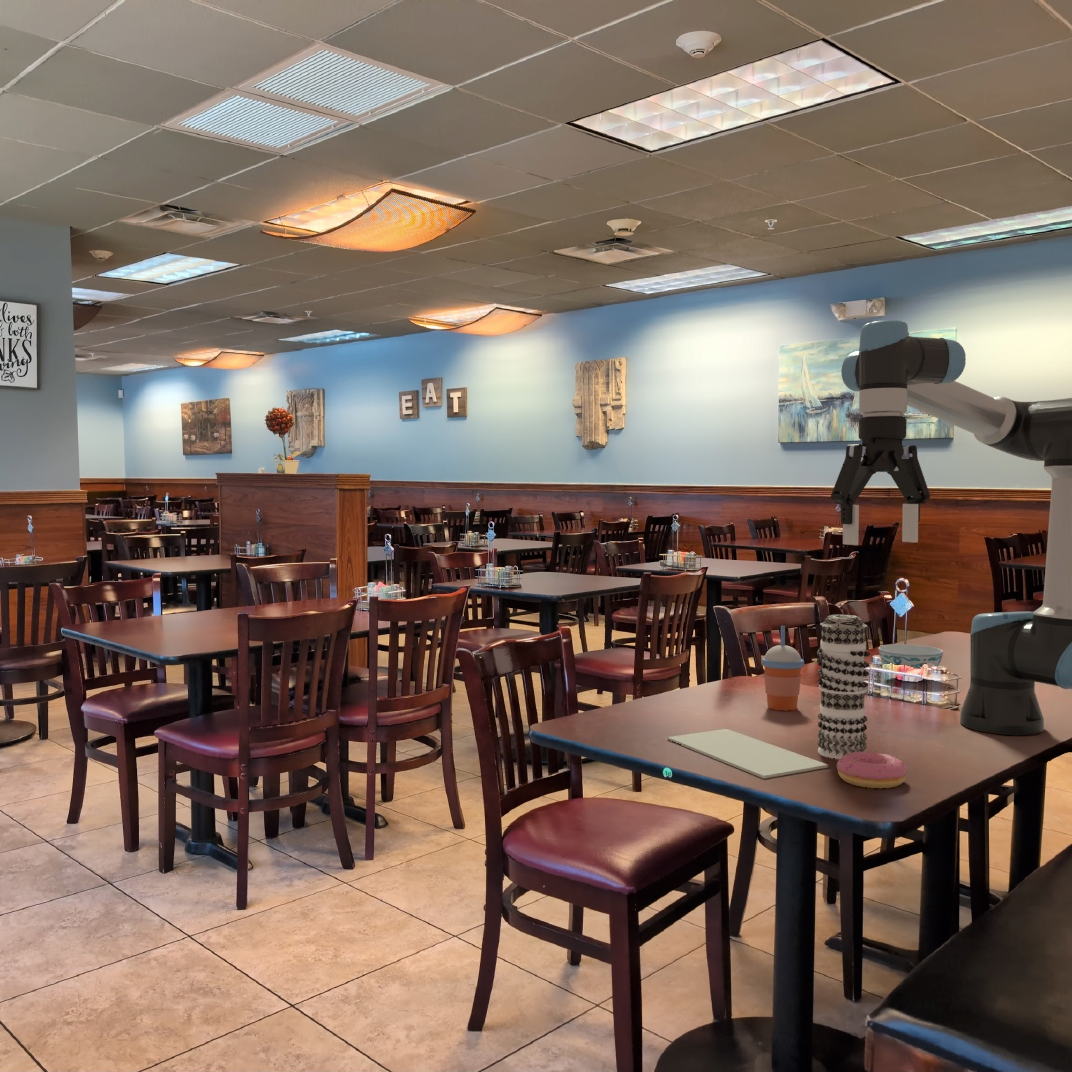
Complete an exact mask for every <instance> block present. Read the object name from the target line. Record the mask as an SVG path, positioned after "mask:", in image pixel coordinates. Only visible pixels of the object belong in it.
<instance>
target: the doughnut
mask: <svg viewBox="0 0 1072 1072" xmlns="http://www.w3.org/2000/svg"><path fill="white" fill-rule="evenodd" d="M836 768H837V773H838V776H839V777H840V778H841V779H842V780H843V781H844V782H846V783H848V784H849V785H852V786H855V785H856V787H859V786H860V788H865V787H867V788H866V789H874V788H878V789H879V788H880V789H881V788H882V789H883V788H886V789H892V787H893V788H896V787H898V786H900V785H902V784H903V783H904V782H905V780H906V775H907V773H908V770H907V767H906V764H904V762H903V761H902V760H901V758H898V757H897V756H896V757H895V756H893V755H891V754H887V753H883V752H882V753H881V752H877V751H875V750H873V751H865V752H863V751H862V752H853V753H848V754H845V755H844V756H843V755H842V757H841V758H840V759H838V760H837V763H836ZM878 789H877V790H878ZM883 790H884V789H883Z"/></svg>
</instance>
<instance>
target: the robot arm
mask: <svg viewBox="0 0 1072 1072" xmlns="http://www.w3.org/2000/svg"><path fill="white" fill-rule="evenodd" d="M858 345H859V347H858V350H857V351H854V352H851V353H849V354H848V355H847V356H846V357H845V359H844V360H843V362H842V365H841V369H840V371H841V373H840V374H841V380H842V382H843V384H844V385H845V386H846V387H847V389H849V390H850V391H853V392H858V393H859V395H858V396H859V397H858V398H859V399H858V401H859V402H858V405H859V406H858V413H859V414H860V416H861V415H862V417H860V418H859V420H858V439H859V440H861V443H858V444H857V443H856V444H847V446H846V448H845V449H846V450H845V457H844V461H843V463H842V466H841V468H840V471H839V473H838V475H837V476H838V477H837V479H836V482H835V483H834V486H833V489H832V491H831V494H830V500H831V501H833V502H834V501H835V504H836V505H840V524H842V545H848V546H849V545H851V546H858V545H859V536H860V535H859V533H860V532H859V531H860V528H859V524H860V523H859V521H860V520H859V518H860V514H859V512H860V505H859V504H855V503H856V502H857V501H858V498H859V497H860V495H861V494H862V492H863V490H864V489H865V487H866V486H867V485H868V483H869V481H870V479H871V478H872V476H873V475H875V474H876V473H886V474H888V475H890V477H891V478H892V480H893V482H894V483H895V484H896V486H897V488H898V490H899V492H900V493H901V495H902V496H903V498H904V500H905V501H906V503H902V517H901V519H902V524H901V525H902V529H901V530H902V531H901V534H902V535H901V537H902V538H901V541H902V543H913V544H914V543H919V522H920V520H921V504H922V505H923V504H925V503H926V502H927V501H928V500H929V499H930V498H931V494H930V491H929V488H928V485H927V481H926V479H925V477H924V473H923V470H922V467H921V464H920V462H919V458H918V448H917V446H916V445H913V444H912V445H903V440H904V439H906V437H907V425H908V424H907V418H906V416H904V414H906V413H907V412H908V407H910V408H912V409H915V410H918V411H920V412H922V413H924V414H927V415H929V416H930V417H931V416H932V417H934V418H936V419H938V420H941V421H943V422H946V423H948V424H950V425H952V426H955V427H957V428H960V429H962V430H964V431H967V432H969V433H971V434H973V436H974V437H975V439H976V440H977V441H978V442H980V443H982V444H984V445H986V446H988V447H990V448H993V449H995V450H999V451H1001V452H1002V453H1003V452H1004V453H1006V454H1009V455H1012V456H1015V457H1017V458H1021V459H1024V460H1030V461H1037V462H1043V463H1044V464H1043V470H1044V471H1045V472H1046V473H1048V474H1049V475H1050V477H1051V489H1050V491H1051V493H1050V505H1049V518H1048V528H1047V529H1048V532H1047V544H1046V546H1047V547H1046V556H1045V557H1046V559H1045V571H1044V572H1045V574H1044V583H1043V585H1044V586H1043V598H1042V605H1041V606H1040V607H1038V608H1037V609H1035V610H1034V611H1006V612H1005V611H1001V612H987V613H979V614H976V615H975V616H974V617H973V618H972V620H971V629H970V630H971V631H970V633H969V636H970V665H969V666H970V681H969V688H968V691H967V693H966V696H965V699H964V702H963V703H962V704H963V705H962V707H961V709H960V714H959V715H960V718H959V720H960V721H959V722H960V725H962V726H963V727H965V728H968V729H971V730H974V731H978V732H983V733H988V734H995V735H996V734H997V735H1005V736H1030V735H1031V736H1032V735H1037V734H1041V733H1042V732H1044V730H1045V726H1044V725H1045V721H1044V720H1045V719H1044V718H1045V717H1044V716H1043V712H1042V709H1041V706H1040V703H1039V701H1038V696H1037V694H1036V691H1035V690H1036V689H1035V685H1036V684H1035V683H1039V684H1045V685H1049V686H1054V687H1059V688H1060V689H1063V690H1072V397H1069V398H1059V399H1050V400H1037V401H1019V400H1017V401H1016V400H1013V399H1010V398H1009V397H1005V396H997V397H996V396H995V397H992V396H990V395H988V394H986V393H983V392H982V391H978V390H976V389H974V388H973V387H969V386H967V385H965V384H963V383H960V382H958V381H957V380H958V379H959V378H960V376H961V375H962V374H963V373H964V370H965V367H966V363H967V362H966V360H967V359H966V352H965V349H964V347H963V346H962V345H961V344H960V343H959V342H958V341H956V340H955V339H954V340H953V339H948V338H947V339H946V338H945V337H939V338H936V337H923V336H922V337H921V336H912V335H910V332H909V328H908V324H907V323H906V322H905V321H902V320H894V319H893V320H892V319H890V320H889V319H888V320H886V319H885V320H878V321H876V320H875V321H872V322H868V323H866V324H864V325H863V326H862V327H861V330H860V335H859V344H858Z"/></svg>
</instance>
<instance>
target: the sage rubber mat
mask: <svg viewBox="0 0 1072 1072" xmlns="http://www.w3.org/2000/svg"><path fill="white" fill-rule="evenodd" d="M668 739H669V740H671V741H670V742H672V741H674V742H676V743H675V744H677V743H679V744H681V745H680V746H683V747H684V748H687V749H689V748H690V750H692V751H695V752H697V753H699V754H702V755H705V756H707V757H709V758H712V759H715V760H716V761H719V762H721V763H723V764H727V765H729V766H732V767H734V768H737V769H739V770H742V771H744V772H746V773H748V774H751V775H753V776H756V777H759V778H761V779H770V778H777V777H781V776H786V775H787V776H788V775H792V774H793V775H794V774H799V773H804V772H805V773H806V772H810V771H816V770H821V769H826V768H829V764H828V763H825V762H822V761H819V760H816V759H813V758H811V757H807V756H804V755H802V754H799V753H797V752H793V751H791V750H788V749H785V748H782V747H779V746H777V745H774V744H771V743H768V742H765V741H762V740H760V739H757V738H754V737H752V736H748V735H746V734H742V733H739V732H738V731H734V730H731V729H729V728H721V729H717V730H709V731H708V730H707V731H701V732H694V733H688V734H680V735H674V736H668V737H667V740H668ZM669 740H668V741H669ZM674 742H673V743H674ZM679 744H678V745H679Z"/></svg>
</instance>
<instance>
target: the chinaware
mask: <svg viewBox="0 0 1072 1072" xmlns="http://www.w3.org/2000/svg"><path fill="white" fill-rule="evenodd" d="M878 653H879V657H880V659H881V662H882V664H883V665H884V664H890V663H892V664H894V665H904V664H905V665H907V666H910V667H913V668H920V667H922V666H923V665H924V664H927V663H932V664H934V665H935V666H937V668H938V667H939V666H940V664H941V660H942V658H943V655H944V650H943V649H941V648H938V647H935V646H931V645H930V646H929V645H922V644H921V645H920V644H911V643H910V644H908V643H907V644H906V643H905V644H904V643H900V644H899V643H895V644H894V643H893V644H891V643H890V644H884V645H880V646H879V647H878Z"/></svg>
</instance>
